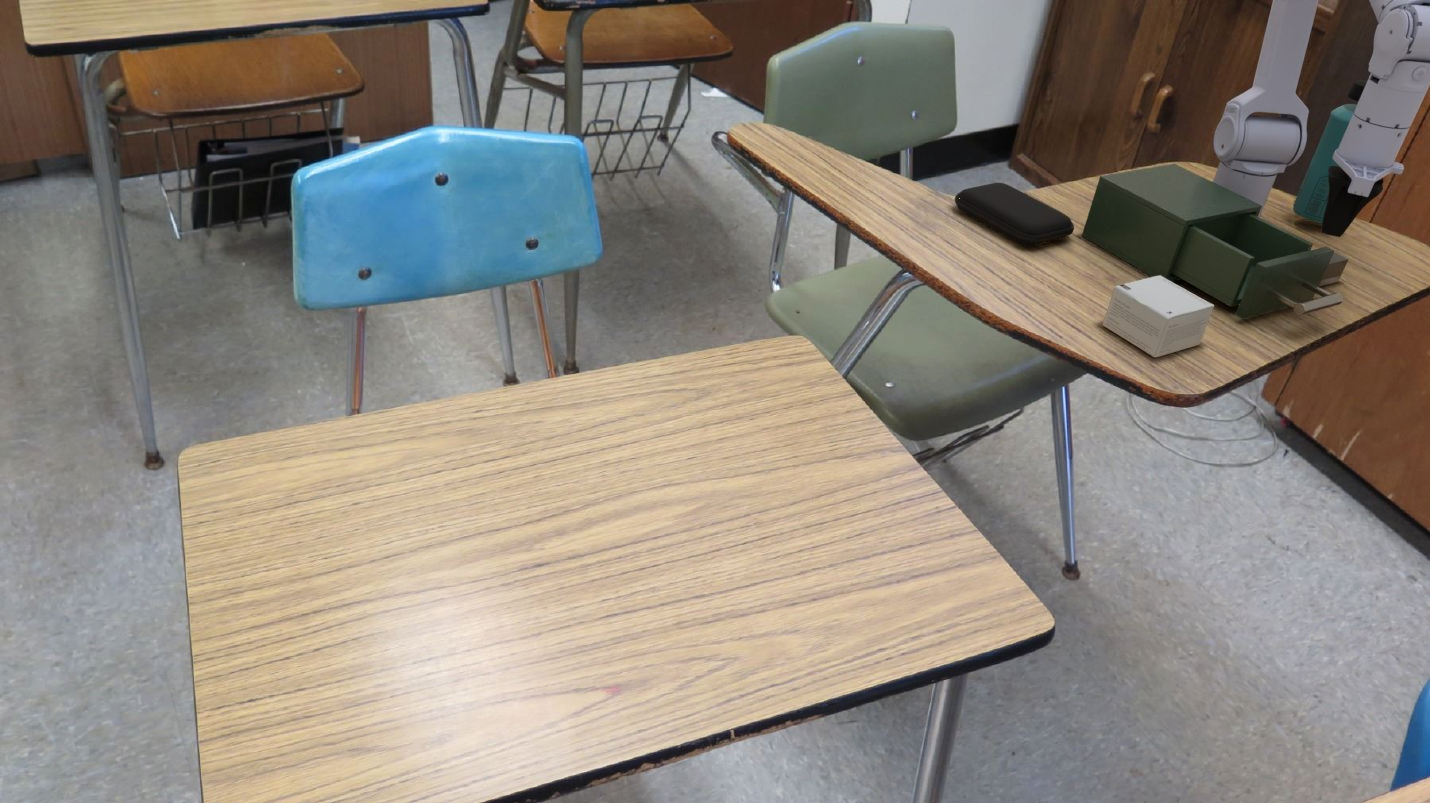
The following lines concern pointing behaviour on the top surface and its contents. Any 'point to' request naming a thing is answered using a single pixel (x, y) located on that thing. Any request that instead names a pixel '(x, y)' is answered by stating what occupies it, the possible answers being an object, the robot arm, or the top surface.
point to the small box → (1157, 315)
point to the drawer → (1254, 266)
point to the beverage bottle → (1325, 160)
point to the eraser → (1334, 269)
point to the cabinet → (1156, 214)
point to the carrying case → (1014, 214)
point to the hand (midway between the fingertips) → (1330, 233)
